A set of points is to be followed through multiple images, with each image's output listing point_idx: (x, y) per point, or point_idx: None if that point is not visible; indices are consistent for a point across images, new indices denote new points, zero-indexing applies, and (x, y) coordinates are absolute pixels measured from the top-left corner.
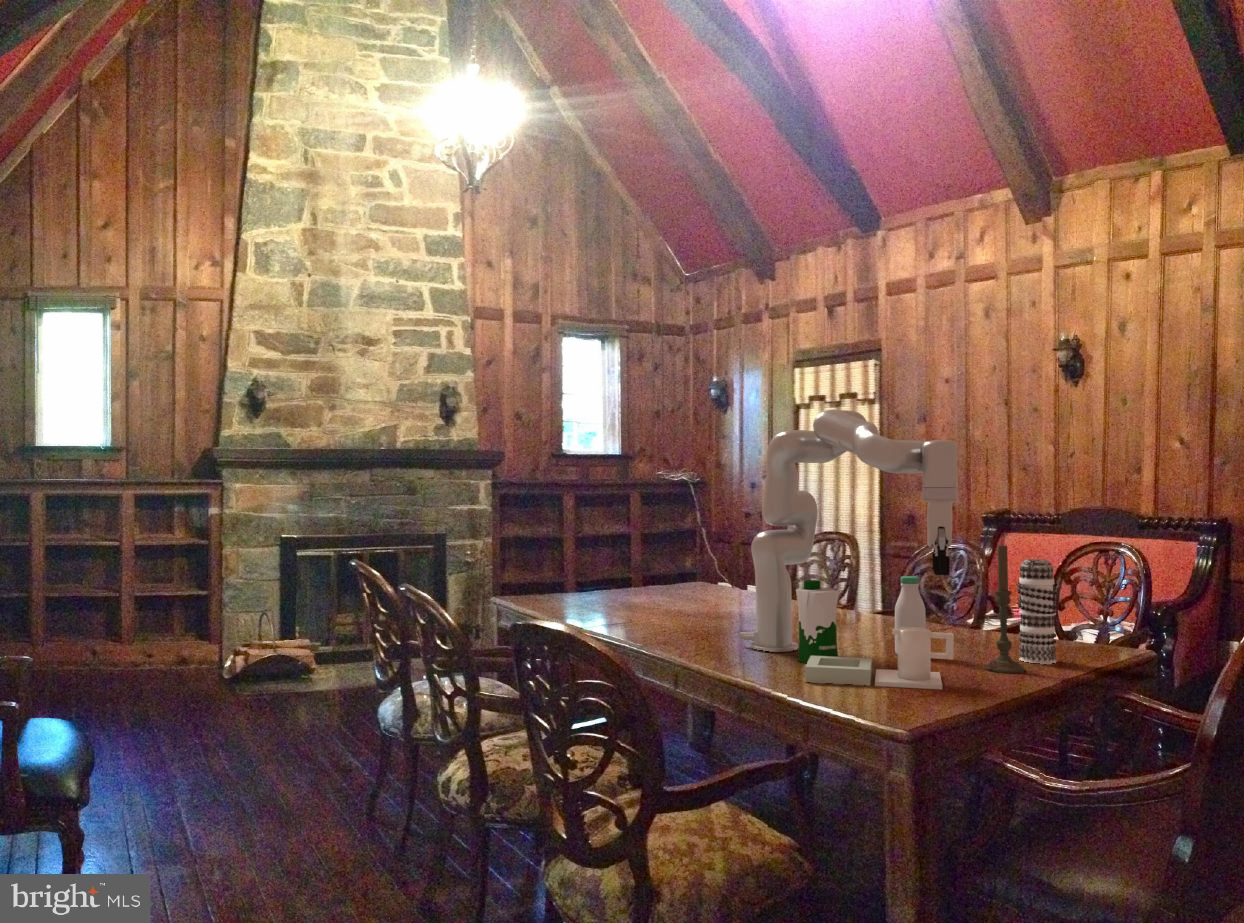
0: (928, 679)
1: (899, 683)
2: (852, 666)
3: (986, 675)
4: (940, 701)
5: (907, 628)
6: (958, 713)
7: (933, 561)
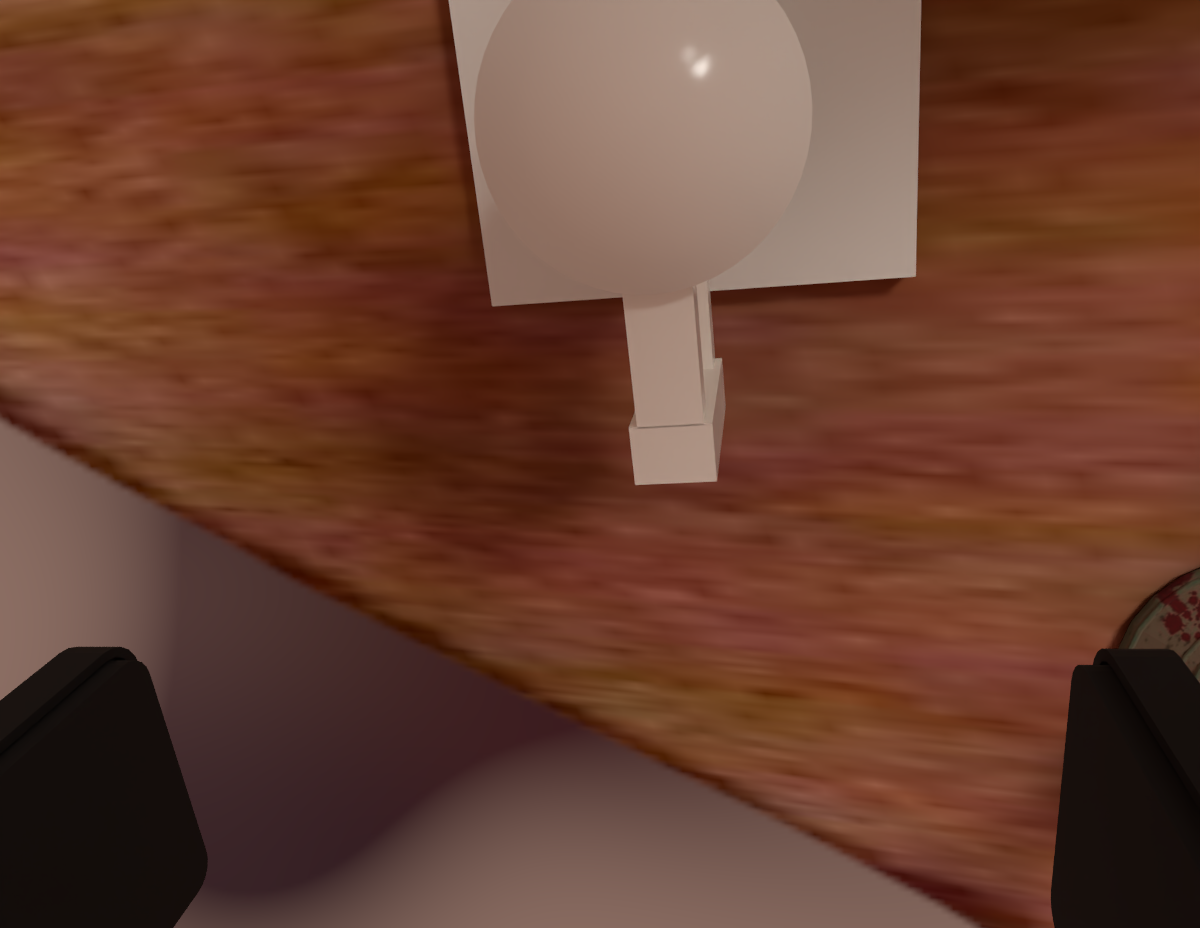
0: None
1: (453, 26)
2: None
3: (1018, 552)
4: (200, 298)
5: (685, 42)
6: (5, 386)
7: (1160, 825)
